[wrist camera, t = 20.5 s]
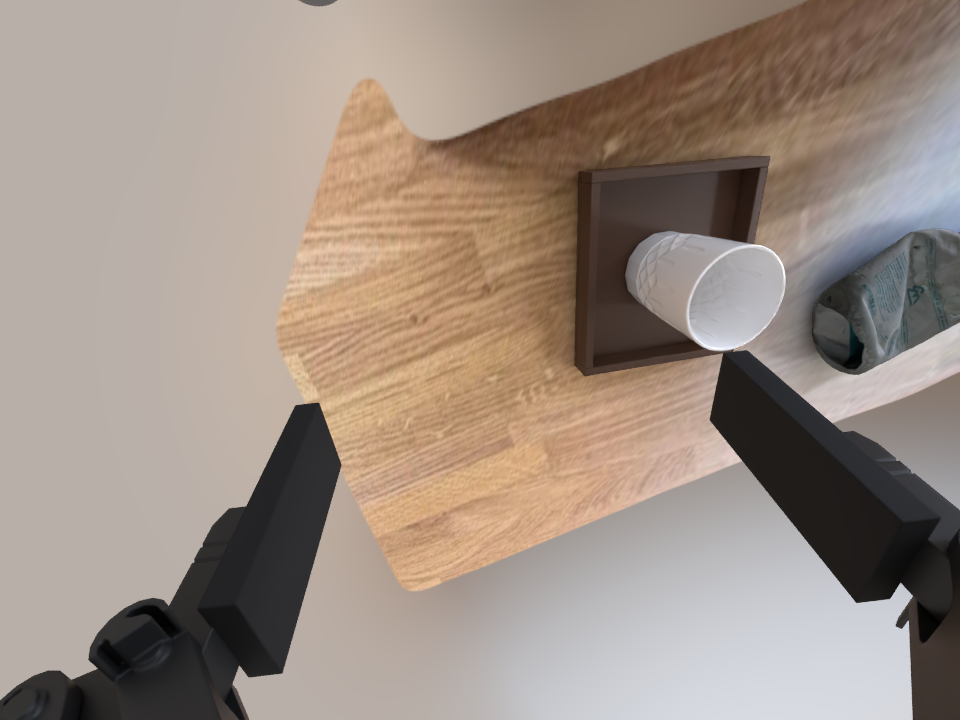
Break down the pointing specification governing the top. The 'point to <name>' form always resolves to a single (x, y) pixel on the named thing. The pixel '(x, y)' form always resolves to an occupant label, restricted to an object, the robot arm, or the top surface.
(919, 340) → the grey hollow crumpled part
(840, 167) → the top surface
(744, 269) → the white cup
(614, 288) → the serving tray
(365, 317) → the top surface
